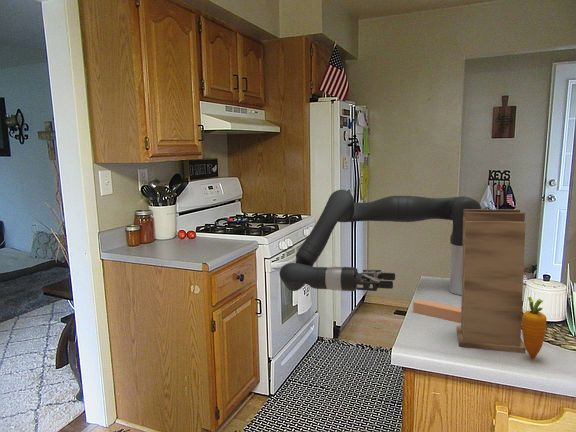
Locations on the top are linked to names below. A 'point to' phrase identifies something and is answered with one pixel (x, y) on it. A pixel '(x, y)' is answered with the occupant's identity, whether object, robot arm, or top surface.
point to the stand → (492, 279)
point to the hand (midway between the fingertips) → (394, 280)
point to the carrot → (533, 328)
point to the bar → (437, 310)
